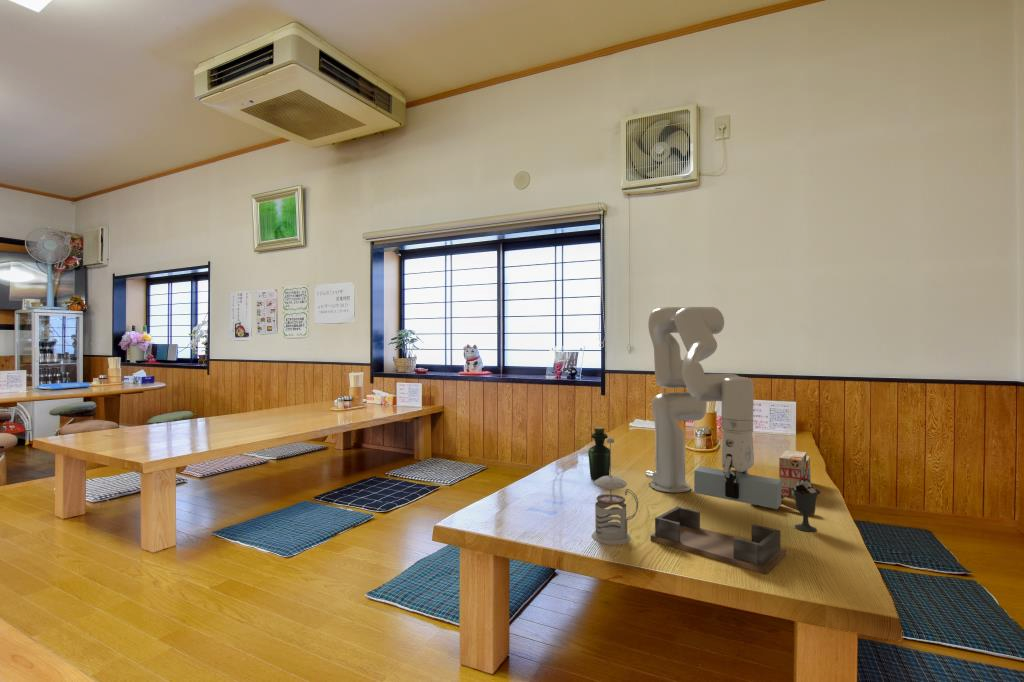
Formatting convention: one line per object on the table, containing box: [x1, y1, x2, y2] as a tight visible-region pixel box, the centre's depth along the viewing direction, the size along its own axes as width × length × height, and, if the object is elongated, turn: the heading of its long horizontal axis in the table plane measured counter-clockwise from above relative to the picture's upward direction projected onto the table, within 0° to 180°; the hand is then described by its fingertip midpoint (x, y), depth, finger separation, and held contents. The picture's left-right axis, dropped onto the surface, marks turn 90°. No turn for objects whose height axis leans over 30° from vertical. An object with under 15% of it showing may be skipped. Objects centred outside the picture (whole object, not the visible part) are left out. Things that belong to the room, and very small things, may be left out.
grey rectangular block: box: [693, 466, 782, 510], centre depth 133 cm, size 20×5×6 cm, turn 53°
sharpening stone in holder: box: [650, 506, 787, 575], centre depth 122 cm, size 27×13×6 cm, turn 46°
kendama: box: [780, 492, 816, 517], centre depth 150 cm, size 8×6×18 cm
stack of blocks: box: [778, 449, 812, 498], centre depth 169 cm, size 21×6×12 cm, turn 143°
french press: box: [591, 437, 639, 546], centre depth 129 cm, size 10×12×25 cm
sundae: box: [791, 470, 821, 533], centre depth 134 cm, size 7×7×15 cm
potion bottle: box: [587, 426, 610, 481], centre depth 184 cm, size 8×8×18 cm
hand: (736, 494), depth 133 cm, fingers closed on grey rectangular block, 5 cm apart
